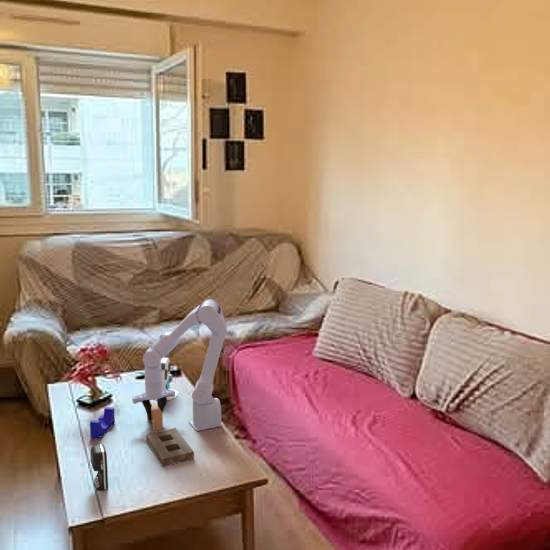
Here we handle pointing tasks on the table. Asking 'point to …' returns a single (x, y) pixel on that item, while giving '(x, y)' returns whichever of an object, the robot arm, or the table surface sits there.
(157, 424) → the prong clip
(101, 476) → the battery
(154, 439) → the brown board with holes
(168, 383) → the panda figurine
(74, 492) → the table surface
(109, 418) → the blue cradle block
